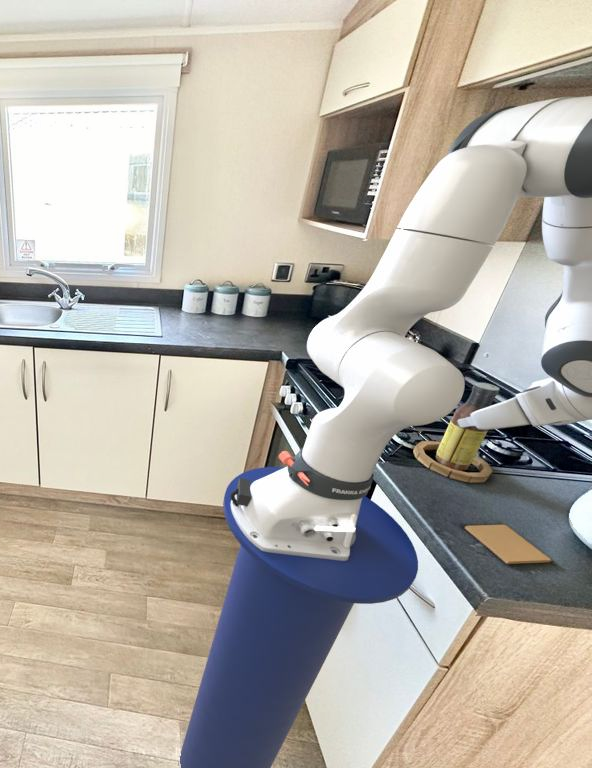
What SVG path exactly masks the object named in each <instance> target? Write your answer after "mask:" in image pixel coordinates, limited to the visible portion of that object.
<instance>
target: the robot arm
mask: <svg viewBox="0 0 592 768" xmlns="http://www.w3.org/2000/svg"><path fill="white" fill-rule="evenodd" d="M521 198H544V199H543V203H542V204H543V205H542V215H541V216H542V217H541V235H542V242H543V247H544V249H545V254H546V257H547V258H548V259H549V260H551V261H552V262H554V263H557V264H559V265H562V266H563V269H564V270H563V279H562V291H561V293H560V295H559V296H558V297H557V299H556V300H555V301H554V302H553V303H552V305H551V306H550V307H549V308H548V310H547V312H546V314H545V317H544V335H543V341H542V347H541V353H540V365H541V368H542V370H543V371H544V372H545V374H546V375H548V376H549V377H547V378H544V379H540V380H536V381H533V382H532V383H531V384H530V386H528V387H527V388H526V389H524V390H522V391H520V392H518V393H516V394H515V396H514V397H511V398H509V399H506V400H504V401H499V402H498V403H495V404H492V406H489V407H486V408H483V409H480V410H477V411H475V412H473V413H471V414H470V417H467V418H462V419H459V420H458V421H457V422H458V424H459V426H460V427H462V428H463V427H468V426H476V427H477V429H479V430H488V431H489V430H498V429H506V428H515V427H522V426H527V425H532V427H541V426H549V425H550V426H563V425H570V424H575V423H581V422H585V421H592V95H587V96H577V97H576V96H563V97H562V96H561V97H558V98H550V99H545V100H540V101H535V102H531V103H527V104H522V105H509V106H503V107H501V108H498V109H495V110H492V111H489V112H487V113H484V114H481V115H480V116H477V117H476V118H475V119H474V120H472V121H471V122H469V124H468V125H466V126H465V128H463V130H462V131H461V132H460V133H459V134H458V136H457V137H456V138H455V140H454V141H453V142H452V143H451V145H450V148H449V150H448V153H447V154H446V156H444V157H443V158H442V159H441V160H440V161H439V162H438V163H437V164H436V165H435V167H433V169H432V170H431V172H430V173H429V175H428V176H427V177H426V179H425V180H424V181H423V182H422V184H421V186H420V188H418V190H417V192H416V194H415V195H414V197H413V199H412V200H411V201H410V203H409V204H408V206H407V208H406V210H405V211H404V214H403V215H402V217H401V218H400V221H399V223H398V224H397V226H396V229H395V231H394V233H393V235H392V237H391V239H390V241H389V242H388V244H387V246H386V249H385V251H384V252H383V255H382V256H381V258H380V260H379V262H378V264H377V266H376V267H375V269H374V271H373V273H372V275H371V276H370V278H369V280H368V281H367V283H366V284H365V285H364V287H363V288H362V289H361V290H360V292H359V293H358V294H357V295H356V296H355V297H354V298H353V299H352V300H351V302H350V303H349V304H348V305H347V306H345V308H343V309H342V310H340V311H339V312H338V313H337V314H333V315H332V316H328V317H327V318H324V319H323V320H321V321H320V322H318V324H316V325H315V327H314V328H313V329H312V330H311V331H310V333H309V335H308V337H307V342H306V351H307V354H308V356H309V358H310V359H311V360H312V362H313V363H314V365H316V367H317V368H318V369H319V371H320V372H321V373H322V374H324V375H325V376H327V377H328V378H329V379H331V380H332V381H334V382H335V383H336V384H338V385H339V386H340V387H342V388H343V391H344V394H343V395H344V396H343V399H342V401H341V403H340V404H339V405H338V407H337V406H336V407H330V408H326V409H324V410H322V411H320V412H318V413H317V414H315V416H313V419H312V420H311V424H310V427H309V428H308V433H307V435H306V438H305V442H304V445H303V447H301V449H299V451H298V452H297V453H296V454H295V455H294V456H291V454H290V453H289V451H287V450H283V451H281V452H280V453H279V454H278V459H279V460H280V461H281V462H282V464H283V465H284V466H285V468H283V469H281V470H278V471H276V472H274V473H272V474H270V475H268V476H265V477H263V478H261V479H259V480H256V481H254V482H253V483H252V484H251V486H250V480H247V479H243V478H239V480H238V484H237V489H235V490H234V491H233V492H232V493H231V511H232V514H233V516H234V519H235V521H236V523H237V524H238V526H239V528H240V529H241V531H242V532H243V534H244V535H245V536H246V537H247V539H248V540H249V541H250V542H251V543H252V544H254V545H255V546H256V547H257V548H259V549H260V550H262V551H264V552H270V553H278V554H287V555H295V556H304V557H312V558H321V559H330V560H338V561H347V560H348V559H349V555H350V547H351V546H352V545H353V543H354V542H355V539H356V523H357V519H358V514H359V510H360V505H361V501H362V498H363V497H364V496H366V497H367V495H368V493H369V490H371V488H372V486H371V485H372V483H373V481H374V478H375V475H374V471H375V469H376V467H377V465H378V462H379V460H380V458H381V457H382V454H383V452H384V450H385V449H386V446H387V445H388V443H389V442H390V441H391V440H392V439H393V437H395V436H396V435H397V434H398V433H399V432H401V431H403V430H404V429H407V428H409V427H417V426H418V427H419V426H424V425H425V426H426V425H429V424H432V423H436V422H437V421H440V420H442V419H443V418H445V417H447V416H449V414H451V413H452V412H453V411H454V410H456V408H457V407H458V406H459V403H461V400H462V398H463V395H464V392H465V385H466V384H465V377H464V375H463V373H462V372H461V371H460V369H458V368H457V367H456V366H455V365H453V364H452V363H451V362H450V361H448V359H446V358H445V357H444V356H442V355H441V354H439V353H438V352H437V351H436V350H434V349H432V348H430V347H427V346H425V345H423V344H421V343H418V342H417V341H414V340H412V339H410V338H407V337H406V335H407V334H408V332H409V330H410V329H411V328H412V327H413V326H414V325H415V324H416V323H417V322H418V321H420V320H421V319H422V318H424V317H425V316H427V315H428V314H430V313H436V312H441V311H444V310H447V309H450V308H452V307H454V306H455V305H456V304H458V303H459V302H460V301H461V300H462V299H463V298H464V297H465V295H466V293H467V292H468V290H469V288H470V287H471V285H472V283H473V282H474V280H475V278H476V277H477V276H478V273H479V272H480V270H481V268H482V267H483V265H484V263H485V262H486V260H487V258H488V257H489V255H490V253H491V252H492V250H493V248H494V247H495V245H496V243H497V241H498V240H499V238H500V236H501V234H502V233H503V231H504V229H505V227H506V225H507V223H508V221H509V220H510V217H511V215H512V212H513V210H514V208H515V206H516V204H517V202H518V200H520V199H521ZM493 246H494V247H493ZM236 494H237V495H236Z"/></svg>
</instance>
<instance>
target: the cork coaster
mask: <svg viewBox="0 0 592 768" xmlns="http://www.w3.org/2000/svg"><path fill="white" fill-rule="evenodd" d="M464 529H465V531H467V532H468V533H470V534H471V535H472V536H473V537H474V538H476V539H477V540H478V541H479V542H480V543H481V544H483V545H484V546H485V547H486V548H487V549H489V550H490V551H491V552H492V553H494V554H495V556H496V557H498V558H499V559H501V561H503V562H504V563H505V564H506V565H516V564H517V565H518V564H540V563H542V564H543V563H551V562H552V559H551V558H550V557H549V556H547V554H545V553H543V552H542V551H541V550H539V548H537V547H536V546H534V545H533V544H532V543H530V542H529V541H527V540H526V539H525V538H524V537H522V536H521V535H520V534H519V533H517V532H516V531H515V530H513V529H512V528H510V527H509V526H508V525H506V524H485V525H484V524H483V525H482V524H481V525H479V524H478V525H465V526H464Z"/></svg>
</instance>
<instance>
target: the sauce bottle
mask: <svg viewBox="0 0 592 768" xmlns="http://www.w3.org/2000/svg"><path fill="white" fill-rule="evenodd" d="M500 390H501V388H500V387H498V386H496V385H494V384H491V383H487V382H481V381H480V382H474V383H473V386H472V387H471V392H470V394H469V397H468V399H467V400H466V402H464V403H462V404H461V405H458V406H457V407H456V408H455V411H454V413H453V416H452V417H451V419H450V421H449V423H448V426H447V428H446V429H445V432H444V434H443V437H442V439H441V441H440V442H441V443H440V445H439V448H438V450H436V454H435V461H436V462H437V463H439V464H442V465H444V466H446V467H449V468H451V469H454V470H459V471H463V472H465V471H466V470H469V468H470V466H471V464H472V462H473V460H474V458H475V456H476V455H477V454H478V452H479V449H480V447H481V445H482V443H483V442H484V439H485V437H486V435H487V433H488V432H489V430H479V429H477V427H476V426H468V427H463V428H462V427H460V426H459V424H458V422H457V421H458V420H459V419H462V418H467V417H470V414H471V413H473V412H475V411H477V410H480V409H483V408H486V407H489V406H492V405H493V402H494V400H495V399H496V397H497V396H498V395H499V393H500Z"/></svg>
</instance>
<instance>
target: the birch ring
mask: <svg viewBox="0 0 592 768" xmlns="http://www.w3.org/2000/svg"><path fill="white" fill-rule="evenodd" d="M440 443H441V441H438V440H436V441H435V440H421V441H420V442H418V443H417V444H415V445H414V447H413V450H412V451H413V452H412V453H413V455H414V457H415V459H416V460H417V461H418V462H420V463H421V464H423V465H424V467H426V468H427V469H430V470H431V471H433V472H435V473H438V474H440V475H442V476H444V477H446V478H448V477H449V479H453V480H457V481H461V482H466V483H471V484H472V483H484V482H486V481H487V480H488V479H489V478H490V476H491V475H492V473H493V469H492V468H491V466H490V464H489V463H488V462H487V461H486V460H485V459H483V458H482V457H480V456H479V455H477V454H476V456H475V458H474V460H473V462H472V463H471V464H472V465H473V466H474V467H476V468H477V470H478V472H466V471H461V470H460V471H459V470H454V469H451V468H449V467H446V466H444V465H442V464H440V463H439V462H438V461H436V460H434V459H433V458H431V457H430V456H429V455H427V454H426V453H425V450H427V451H429V450H430V451H431V450H436V451H437V450H438V448H439V445H440Z"/></svg>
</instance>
